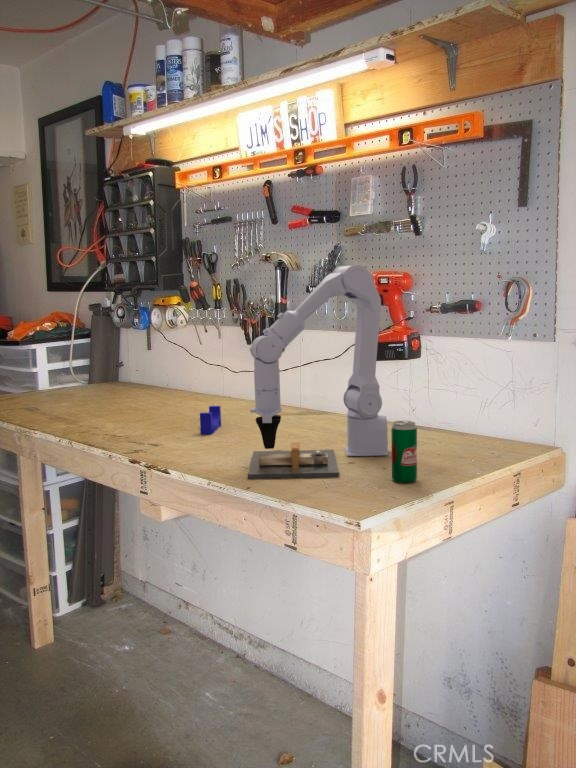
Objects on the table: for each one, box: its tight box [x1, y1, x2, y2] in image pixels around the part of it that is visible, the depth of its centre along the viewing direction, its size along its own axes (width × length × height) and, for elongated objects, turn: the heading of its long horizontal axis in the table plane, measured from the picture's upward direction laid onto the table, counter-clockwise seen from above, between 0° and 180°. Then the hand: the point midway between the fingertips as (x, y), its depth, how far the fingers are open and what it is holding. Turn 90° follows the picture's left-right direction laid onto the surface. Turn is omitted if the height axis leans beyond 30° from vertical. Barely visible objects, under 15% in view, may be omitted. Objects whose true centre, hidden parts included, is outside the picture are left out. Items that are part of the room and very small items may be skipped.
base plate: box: [247, 442, 340, 480], centre depth 152 cm, size 19×20×6 cm
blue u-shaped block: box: [199, 405, 222, 436], centre depth 193 cm, size 12×4×6 cm, turn 173°
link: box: [259, 453, 328, 465], centre depth 150 cm, size 15×4×2 cm, turn 89°
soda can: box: [391, 420, 418, 484], centre depth 138 cm, size 5×5×12 cm
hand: (269, 448), depth 156 cm, fingers closed
